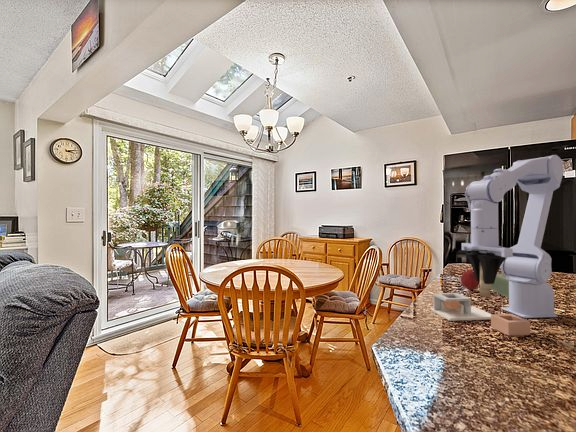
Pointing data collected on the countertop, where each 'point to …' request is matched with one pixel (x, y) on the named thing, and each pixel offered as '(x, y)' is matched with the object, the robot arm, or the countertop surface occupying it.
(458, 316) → the square socket plate
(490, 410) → the countertop surface
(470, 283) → the onion
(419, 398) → the countertop surface
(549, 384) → the countertop surface
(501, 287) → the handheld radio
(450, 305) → the button
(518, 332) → the stylus holder
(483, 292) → the stylus
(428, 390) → the countertop surface
